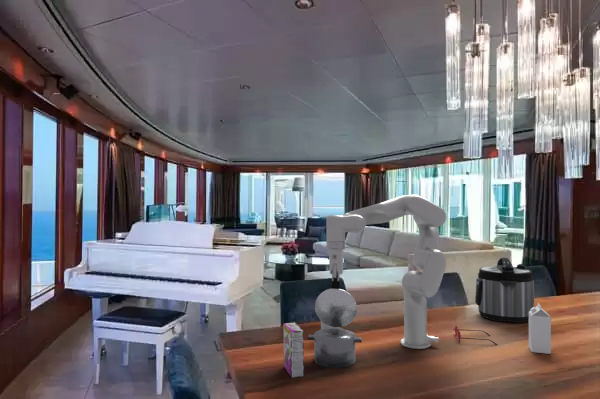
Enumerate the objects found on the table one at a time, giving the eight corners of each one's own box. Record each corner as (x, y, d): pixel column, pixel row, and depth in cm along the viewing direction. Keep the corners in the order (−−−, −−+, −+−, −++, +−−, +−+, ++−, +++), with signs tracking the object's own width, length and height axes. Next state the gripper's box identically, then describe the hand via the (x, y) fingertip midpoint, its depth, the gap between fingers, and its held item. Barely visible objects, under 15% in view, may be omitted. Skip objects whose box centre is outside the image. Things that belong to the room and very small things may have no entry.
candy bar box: (282, 366, 165) (282, 323, 165) (295, 365, 166) (295, 322, 167) (290, 378, 154) (290, 331, 154) (304, 376, 156) (304, 330, 156)
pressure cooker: (494, 308, 255) (494, 253, 255) (545, 318, 233) (545, 258, 233) (464, 316, 237) (464, 257, 237) (516, 328, 215) (516, 263, 215)
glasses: (453, 334, 206) (453, 323, 206) (490, 336, 203) (490, 325, 203) (457, 344, 193) (457, 332, 193) (498, 346, 189) (498, 334, 189)
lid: (357, 328, 179) (357, 325, 181) (356, 289, 174) (357, 287, 176) (315, 326, 181) (316, 323, 183) (314, 288, 177) (314, 286, 179)
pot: (362, 353, 179) (362, 328, 179) (361, 369, 162) (361, 342, 162) (311, 350, 183) (311, 326, 183) (305, 366, 166) (305, 339, 166)
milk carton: (547, 348, 185) (547, 303, 185) (551, 354, 178) (550, 307, 178) (528, 347, 187) (528, 302, 187) (531, 352, 180) (531, 306, 180)
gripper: (343, 247, 170) (343, 295, 170) (346, 243, 185) (346, 287, 185) (324, 247, 172) (324, 294, 171) (328, 243, 186) (328, 287, 186)
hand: (335, 290), depth 178 cm, fingers closed
